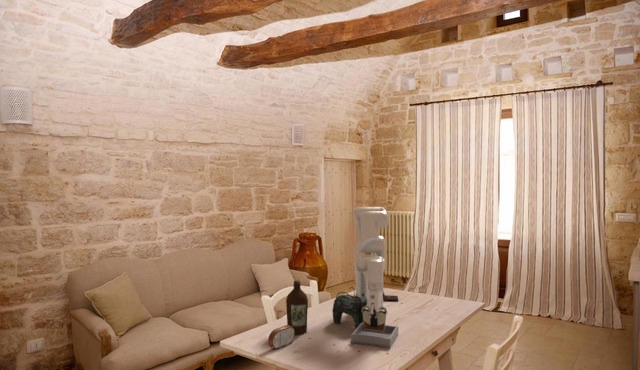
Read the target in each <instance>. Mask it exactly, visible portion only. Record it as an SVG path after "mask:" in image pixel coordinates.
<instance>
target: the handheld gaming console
mask: <svg viewBox="0 0 640 370" xmlns="http://www.w3.org/2000/svg"><path fill="white" fill-rule="evenodd" d="M382 292H383V302H393V303H396V302H397V303H398V302H399V297H398V295H387V294H385V292H384V289H383V290H382Z"/></svg>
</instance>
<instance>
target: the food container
mask: <svg viewBox="0 0 640 370" xmlns="http://www.w3.org/2000/svg"><path fill="white" fill-rule="evenodd" d="M362 311H363V323H364V329H365V330H373V331H382V332H384V329H385V325H386V322H387V321H386V319H387V315H389V314H388V310H387V308H386V307H384V306H383V307H382V310H381V311H380V312H377V327H371V326H370V311H369V306H365V307H363V308H362ZM362 311H361V312H362ZM374 311H375V312H376V310H374ZM374 314H375V313H374Z"/></svg>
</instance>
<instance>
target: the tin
mask: <svg viewBox="0 0 640 370" xmlns="http://www.w3.org/2000/svg"><path fill="white" fill-rule="evenodd" d="M295 336H296V335H295V330H294V328H293V327H291V326H289V325H287V324H286V325H283V326H281V327H280V326H279V327H277V328H274V329H273V330H272V331H271V332H270V334H269V335H268V338H267V339H268V340H267V345H268V346H269V347H270V348H272V349H275V350H278V349H281V348H283V347H285V345H286V346H288V345H290V344H292V342H293V341H294V339H295ZM289 343H290V344H289ZM287 344H288V345H287ZM282 346H283V347H282ZM280 347H281V348H280ZM277 348H278V349H277Z"/></svg>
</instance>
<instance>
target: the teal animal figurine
mask: <svg viewBox="0 0 640 370" xmlns="http://www.w3.org/2000/svg"><path fill="white" fill-rule="evenodd" d="M351 289H353V292H354V293H353V295H352V294H349V293H347V292H345V291H341V292H338V293H337V294H336V296H335V297H336V298H334V301H333V304H332V305H333V306H332V320H333V321H332V322H333V323H334V324H336V325H338V324H341V323H342V317H343V314H345V315H348V316H351V317H352V319H353V322H354V329H356V328H357V327H358V326H359V325H360V324H361V323H362V322H363V311H362V308H363V307H365V306H366V305H367V298H366V297H365V294H364V293H363V294H362V295H358V293H356V288H354V287H353V286H351V287H350V288H349V290H351ZM342 293H343V294H342ZM340 294H341V295H340ZM361 311H362V312H361Z"/></svg>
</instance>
